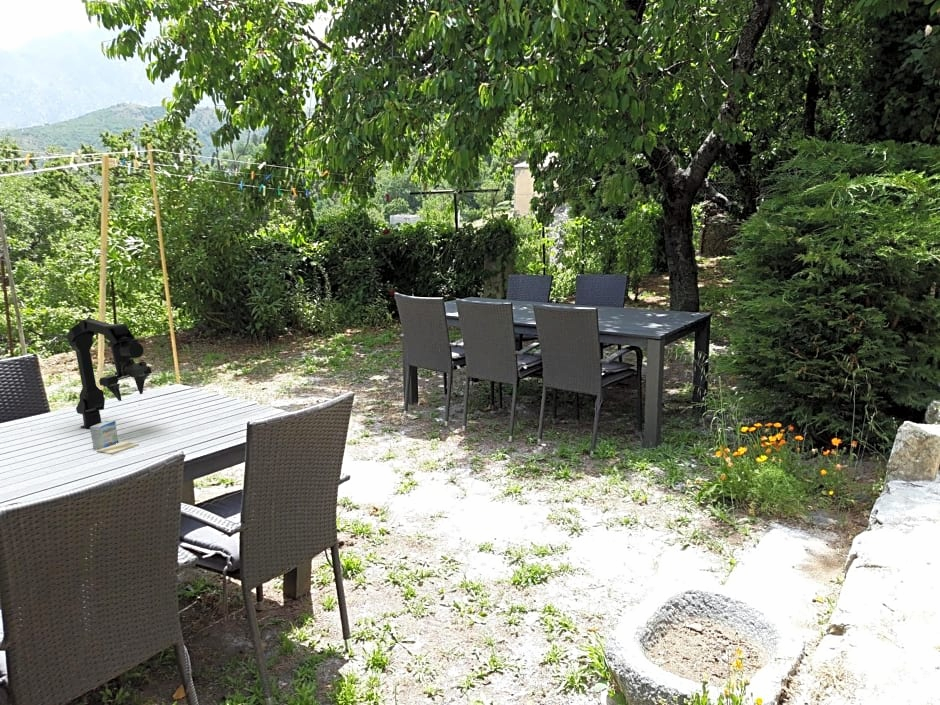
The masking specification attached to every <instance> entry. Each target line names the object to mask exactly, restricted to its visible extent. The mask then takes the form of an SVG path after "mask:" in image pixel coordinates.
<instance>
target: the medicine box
mask: <svg viewBox="0 0 940 705" xmlns="http://www.w3.org/2000/svg"><path fill="white" fill-rule="evenodd" d="M116 423H117V422H116V421H115V420H104V421H101V423H99V424H96V425H94V426H91V427H90V430H89V431H90V435H91V442H92V449H93V450H100V449H102V448H105V447H108V446H111V445H114V444H116V443H119V438H118V437H119V436H118V430H117V424H116Z"/></svg>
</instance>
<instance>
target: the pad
mask: <svg viewBox="0 0 940 705" xmlns="http://www.w3.org/2000/svg"><path fill="white" fill-rule="evenodd" d="M138 446H140V444H139V442H138V443H137V442H132V441H131V442H130V441H121V442H118V443H117V444H114V445H111V446H108V447H105V448H102V449H96V453H99V452H100V454H105V453H106V455H111V456H112V455H116V454H118V453H120V452H124V451H127V450H129V449H132V448H135V447H138ZM126 449H127V450H126Z"/></svg>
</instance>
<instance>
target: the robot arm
mask: <svg viewBox="0 0 940 705" xmlns="http://www.w3.org/2000/svg"><path fill="white" fill-rule="evenodd" d="M96 334H99V335H103V336H104V339H105V340H106V341H107V340H108V341H109V343H108V344H107V348H108V347H109V348H110V349H111V354H112V358H113V361H111V363H112V365H114V366H115V367H114V368H115V372H114V375H106V376H102V377H100V378H99V380H98V383H99V386H103V387H104V388H107V390H109V391H110V392H111V393H112V394H113V396H114V397H115V398H116V399H117V401H118V402H121V401H122V394H121V391H120V385H121V384H120V383H119V381H121V380H124V379H127V378H132V379H133V378H134V381H135V384H136V387H137V390H138V392H139V395H142V394H144V393H143V392H144V387H145V381H146V379H147V378H148V377H149V376H150V374H152V373H153V370H152V368H151V367H150V365H147V362H146V361H144V360H142V361H140V362H138V363H135V360H134V359H138V358H140V357H142V356H143V354H144V351H145V350H144V347H143V345H142V343H140V342H138V340H137V339H136V338H135V336H134V334H133V333H132V332H131V330H130V329H129V327H128V326H127V325H126V324H125V323H113V324H112V323H107V322H104V321H101V320H97V319H95V318H85V319H81V320H79V322H78V323H77V324H76V325H75V326H73V327H72V328H70V330H69V331H68V333H67V334H66V338H67V341H68V343H69V347H70V348H71V349H72V350H73V351H74V352H75V355H76V360H77V366H78V370H79V376H80V381H81V390H80V393H79V402H78V403H77V405H76V407H75V411H76V413H77V414H79V415H82V421H83V425H80V428H82V427H83V428H84V429H90V427H91V426H94V425H96V424H99V423H101V422H102V418H101V417H102V416H101V410H104V409H105V402H106V398H105V396H104V395H105V394H104V391H103V389H101V388H99V387H98V386H97V382H96V377H95V371H94V365H93V360H92V355H91V349H92V346H93V344H94V339H93V338H94V337H95V335H96ZM83 428H82V429H83Z"/></svg>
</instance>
